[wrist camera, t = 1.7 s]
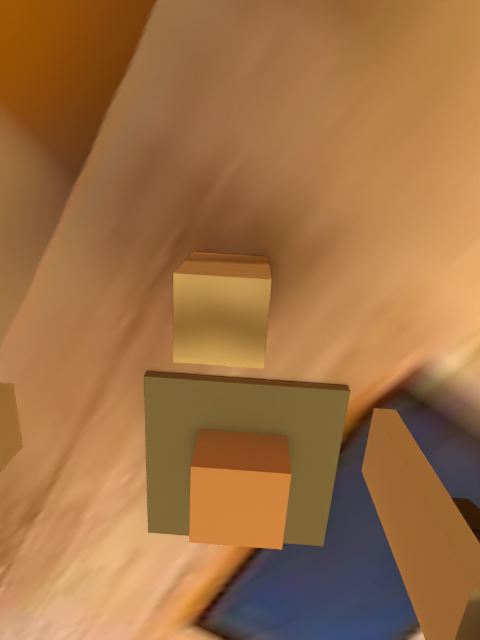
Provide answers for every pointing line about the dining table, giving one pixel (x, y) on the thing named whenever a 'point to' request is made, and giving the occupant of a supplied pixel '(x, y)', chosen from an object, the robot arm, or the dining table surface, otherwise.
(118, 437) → the dining table surface
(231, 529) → the base block
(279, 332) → the dining table surface
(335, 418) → the olive square panel
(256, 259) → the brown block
